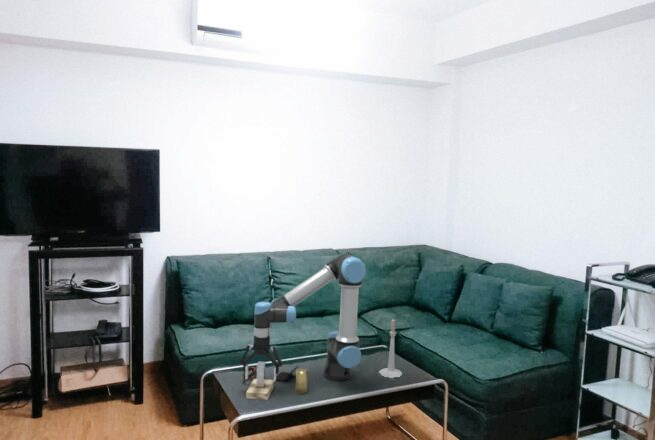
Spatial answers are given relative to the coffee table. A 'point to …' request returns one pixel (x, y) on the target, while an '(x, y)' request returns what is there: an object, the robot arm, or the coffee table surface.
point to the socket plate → (260, 390)
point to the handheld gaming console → (283, 376)
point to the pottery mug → (254, 373)
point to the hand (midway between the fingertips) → (260, 379)
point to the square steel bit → (260, 375)
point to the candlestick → (391, 357)
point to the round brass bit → (301, 381)
